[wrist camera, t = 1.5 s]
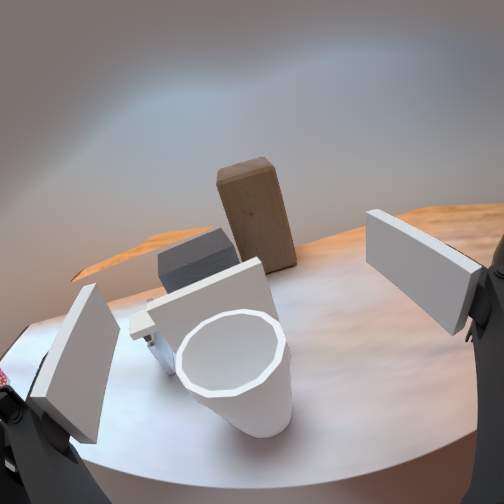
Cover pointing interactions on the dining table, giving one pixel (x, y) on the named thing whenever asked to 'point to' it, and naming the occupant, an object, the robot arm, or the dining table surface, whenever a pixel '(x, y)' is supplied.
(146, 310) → the gauge slider
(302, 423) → the dining table surface
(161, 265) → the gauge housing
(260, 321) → the foam cup
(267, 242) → the wooden block
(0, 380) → the beverage cup
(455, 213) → the dining table surface
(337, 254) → the dining table surface
